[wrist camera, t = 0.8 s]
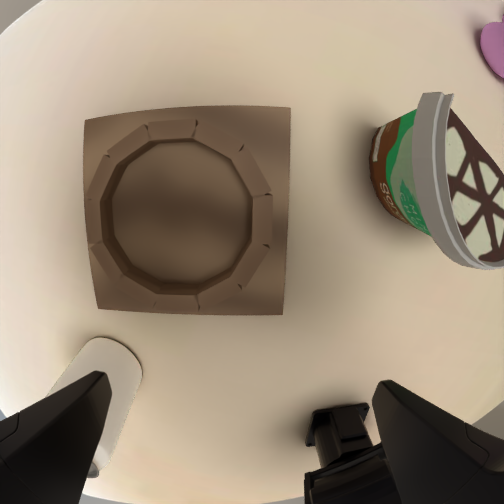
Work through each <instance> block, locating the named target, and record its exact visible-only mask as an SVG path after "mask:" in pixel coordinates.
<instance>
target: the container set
mask: <svg viewBox="0 0 504 504" xmlns="http://www.w3.org/2000/svg"><path fill="white" fill-rule="evenodd" d="M502 21H503V23H501V22H492V23H489V24H487V25H486V26H485V27H484V28H483V30H482V33H481V40H480V46H481V50H482V53H483V55H484V57H485V59H486V61H487V63H488V64H489V66H490V67H491V69H492V70H493V71H494V72H495V73H496V74H498V75H499V76H501V77H502V78H504V15H503V19H502Z"/></svg>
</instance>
